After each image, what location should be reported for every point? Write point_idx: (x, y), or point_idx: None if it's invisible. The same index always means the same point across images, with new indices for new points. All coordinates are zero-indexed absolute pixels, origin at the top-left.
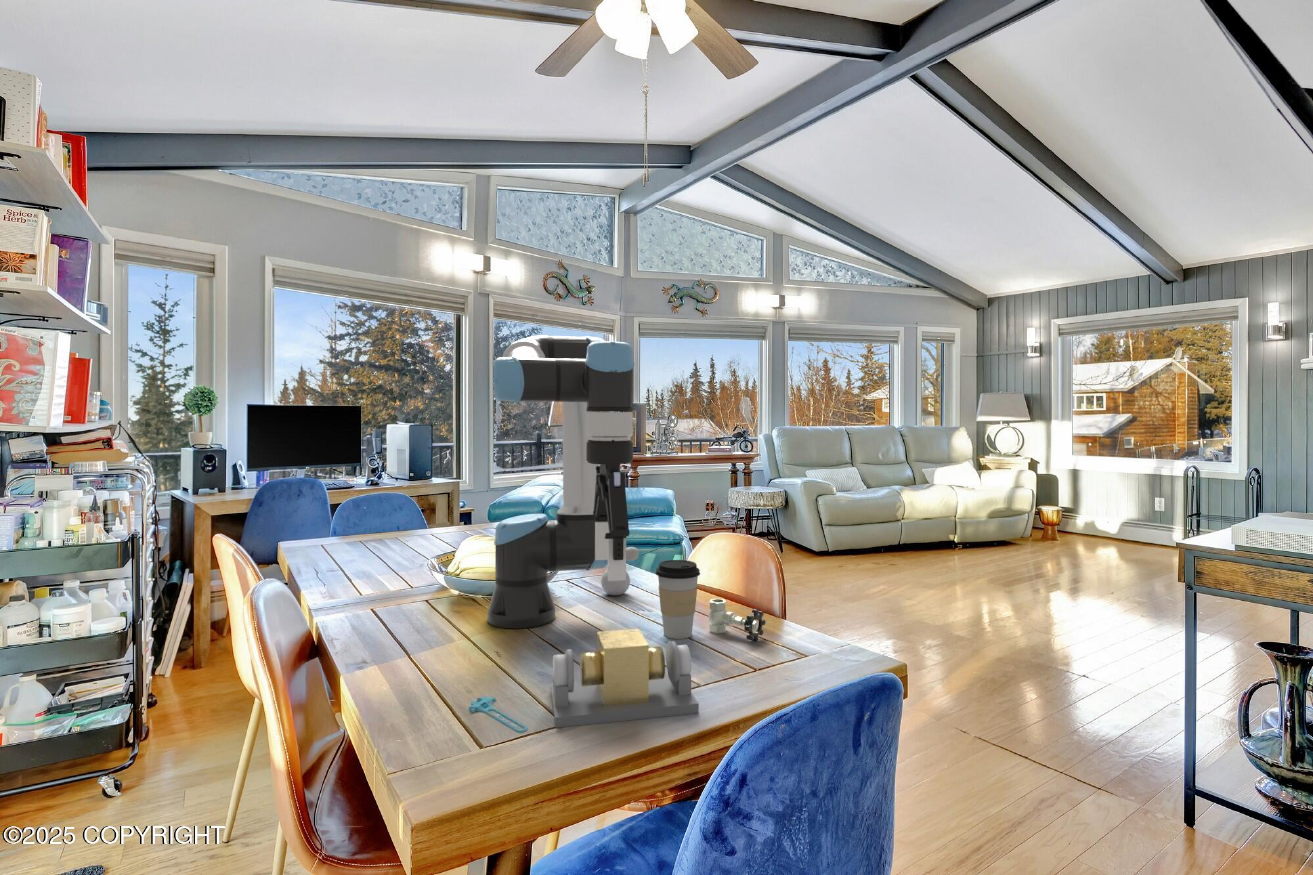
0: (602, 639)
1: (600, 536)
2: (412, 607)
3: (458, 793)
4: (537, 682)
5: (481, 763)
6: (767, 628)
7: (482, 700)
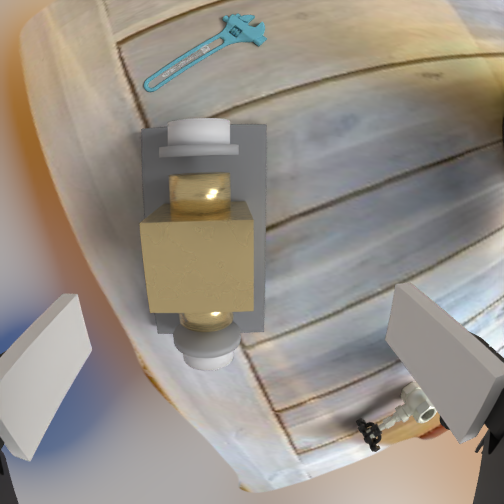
0: (197, 226)
1: (444, 355)
2: None
3: (40, 47)
4: (315, 110)
5: (83, 51)
6: (387, 433)
7: (249, 27)
